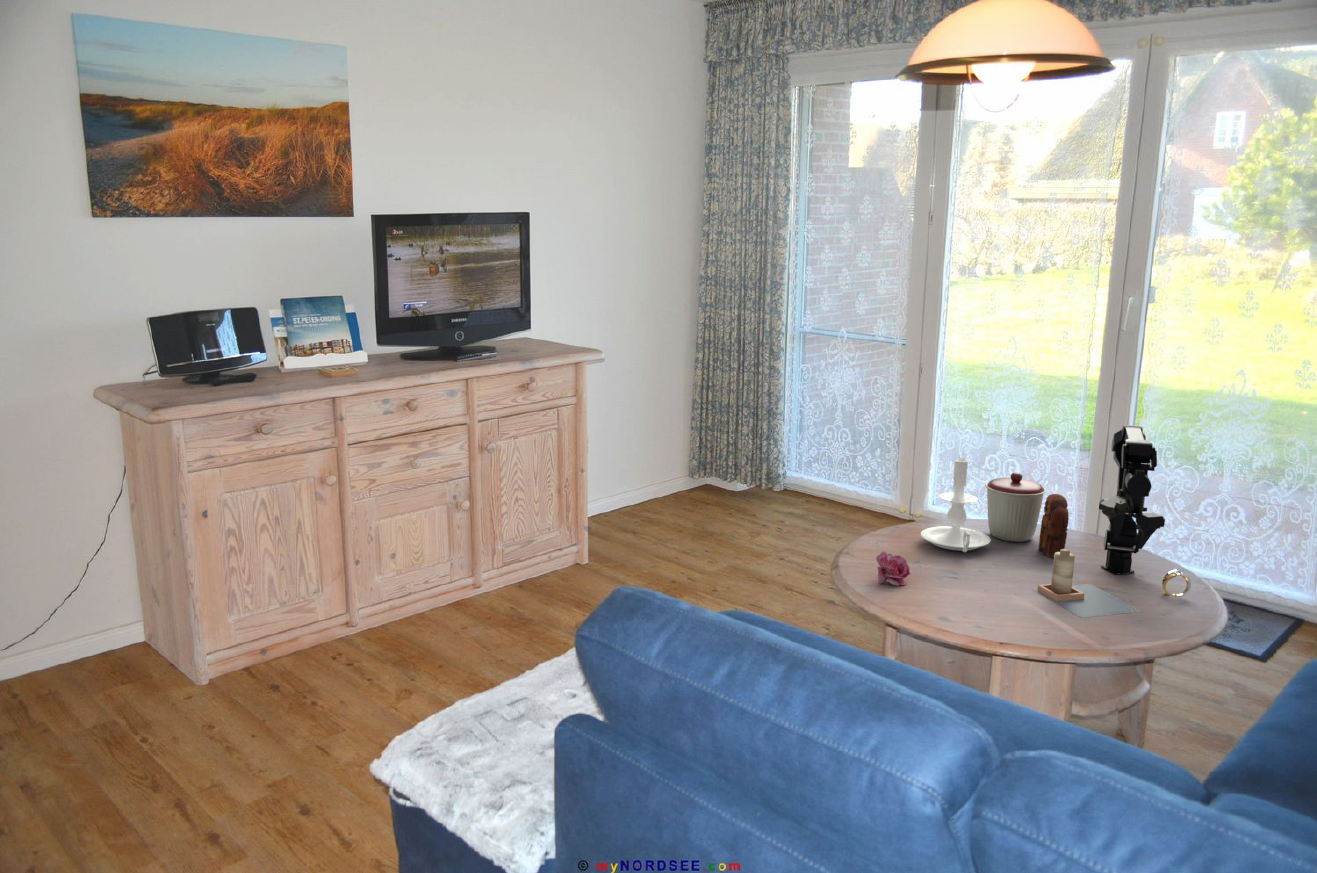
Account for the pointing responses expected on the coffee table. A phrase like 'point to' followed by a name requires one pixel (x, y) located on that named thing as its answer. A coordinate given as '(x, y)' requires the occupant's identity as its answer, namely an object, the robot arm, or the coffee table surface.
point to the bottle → (1062, 572)
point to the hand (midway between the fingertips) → (1127, 543)
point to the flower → (892, 569)
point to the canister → (1013, 507)
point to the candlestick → (957, 517)
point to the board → (1087, 601)
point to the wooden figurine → (1054, 525)
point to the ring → (1176, 573)
